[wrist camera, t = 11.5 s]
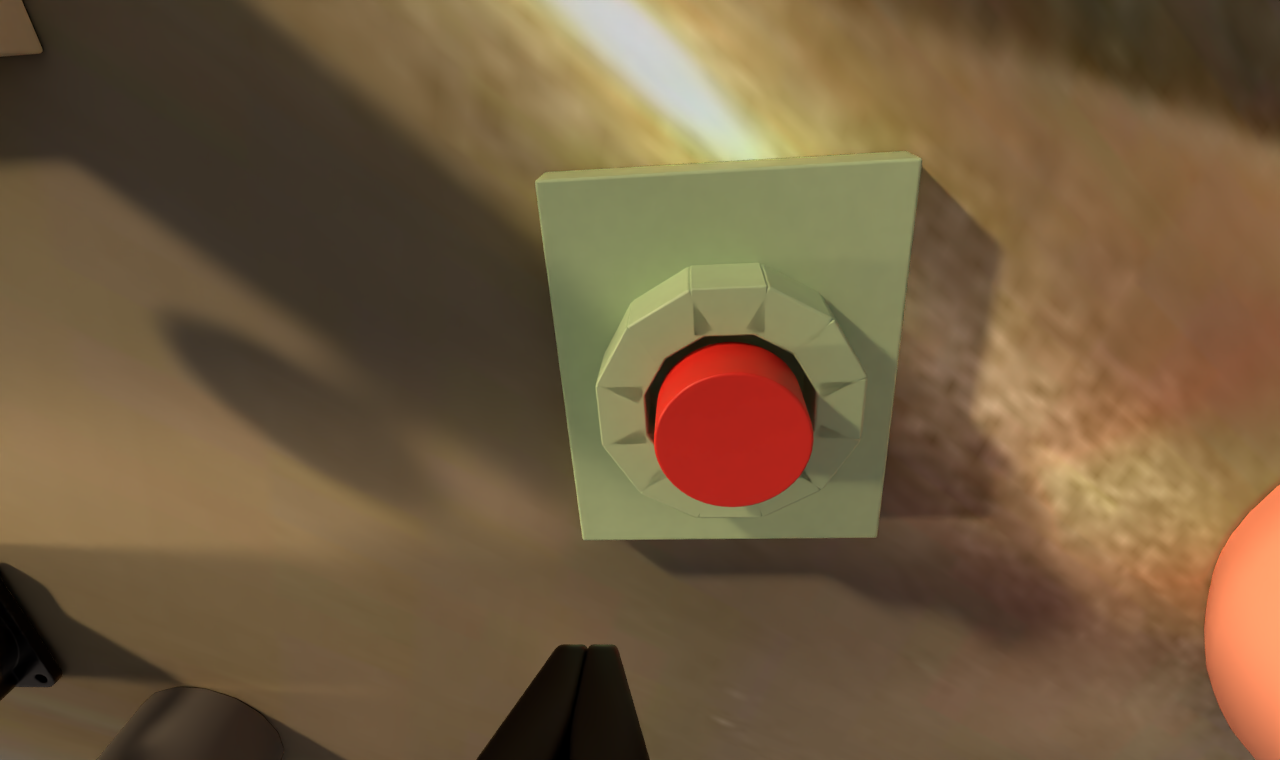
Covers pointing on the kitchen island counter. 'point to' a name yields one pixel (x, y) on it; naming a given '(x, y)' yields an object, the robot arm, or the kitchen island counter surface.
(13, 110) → the kitchen island counter surface
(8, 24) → the switch bracket
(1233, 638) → the teapot
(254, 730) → the candle holder
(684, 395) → the button
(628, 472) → the button housing
